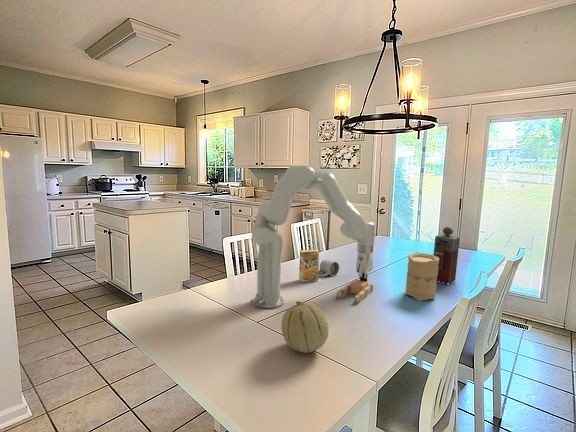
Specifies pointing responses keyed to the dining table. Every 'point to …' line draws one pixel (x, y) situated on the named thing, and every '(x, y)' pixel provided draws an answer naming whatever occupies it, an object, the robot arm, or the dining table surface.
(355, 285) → the block
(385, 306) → the dining table surface
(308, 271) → the candy box
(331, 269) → the ceramic mug
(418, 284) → the container
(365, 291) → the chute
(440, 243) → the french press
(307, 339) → the cantaloupe
